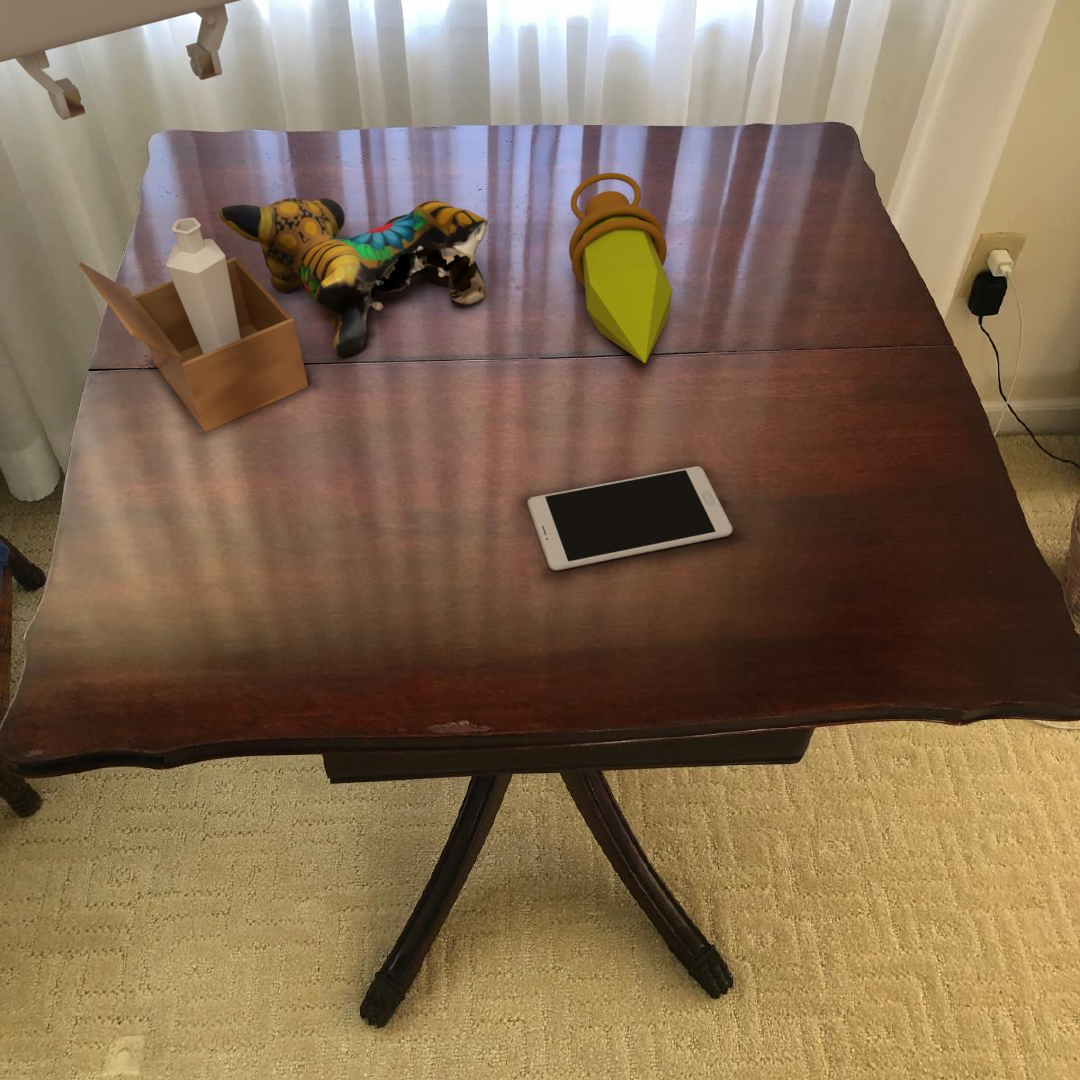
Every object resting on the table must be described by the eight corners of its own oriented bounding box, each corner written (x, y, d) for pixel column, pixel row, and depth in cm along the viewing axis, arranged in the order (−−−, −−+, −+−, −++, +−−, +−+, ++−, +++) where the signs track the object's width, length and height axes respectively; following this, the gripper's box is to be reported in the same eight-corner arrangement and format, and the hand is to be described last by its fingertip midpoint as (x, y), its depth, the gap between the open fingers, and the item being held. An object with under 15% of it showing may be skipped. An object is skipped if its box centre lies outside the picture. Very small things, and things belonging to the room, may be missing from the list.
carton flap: (181, 358, 78) (179, 361, 78) (128, 289, 83) (126, 292, 83) (133, 332, 74) (131, 335, 74) (80, 261, 79) (78, 264, 79)
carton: (206, 432, 84) (183, 366, 78) (154, 363, 89) (129, 296, 84) (308, 386, 88) (294, 320, 82) (253, 323, 93) (236, 256, 87)
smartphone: (735, 531, 77) (550, 568, 75) (734, 536, 78) (550, 573, 75) (701, 463, 82) (525, 496, 79) (700, 468, 82) (525, 501, 80)
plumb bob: (699, 384, 90) (647, 200, 103) (693, 316, 82) (638, 126, 95) (602, 406, 91) (562, 221, 104) (587, 341, 83) (546, 150, 96)
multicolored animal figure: (488, 333, 99) (384, 240, 106) (514, 223, 90) (398, 129, 97) (319, 390, 88) (214, 281, 95) (330, 270, 79) (213, 160, 86)
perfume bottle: (251, 390, 87) (209, 243, 75) (201, 389, 87) (152, 241, 75) (261, 355, 90) (223, 209, 78) (213, 354, 90) (167, 207, 78)
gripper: (219, -197, 60) (261, 35, 71) (-141, -137, 52) (-31, 116, 63) (268, -168, 57) (304, 70, 68) (-107, -99, 49) (3, 160, 60)
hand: (141, 93), depth 65 cm, fingers open, 8 cm apart
